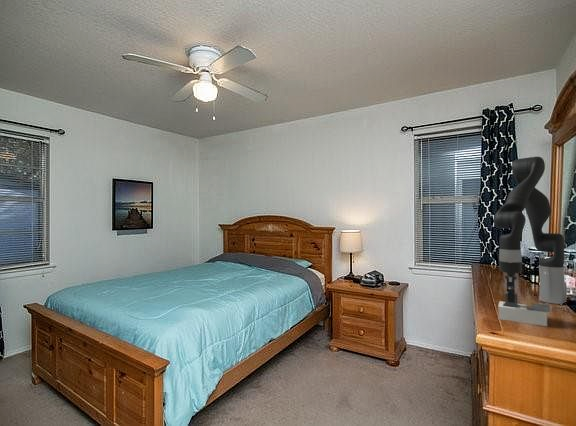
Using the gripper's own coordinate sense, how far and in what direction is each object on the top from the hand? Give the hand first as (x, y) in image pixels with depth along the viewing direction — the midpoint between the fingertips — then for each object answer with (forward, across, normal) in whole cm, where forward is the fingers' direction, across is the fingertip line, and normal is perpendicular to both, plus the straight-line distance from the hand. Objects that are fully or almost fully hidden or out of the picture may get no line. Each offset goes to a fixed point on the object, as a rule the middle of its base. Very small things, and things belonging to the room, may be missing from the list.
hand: (511, 300), depth 125 cm
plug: (+7, 0, 0) cm, 7 cm away
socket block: (+7, 0, +3) cm, 8 cm away
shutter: (+2, 0, +8) cm, 9 cm away
